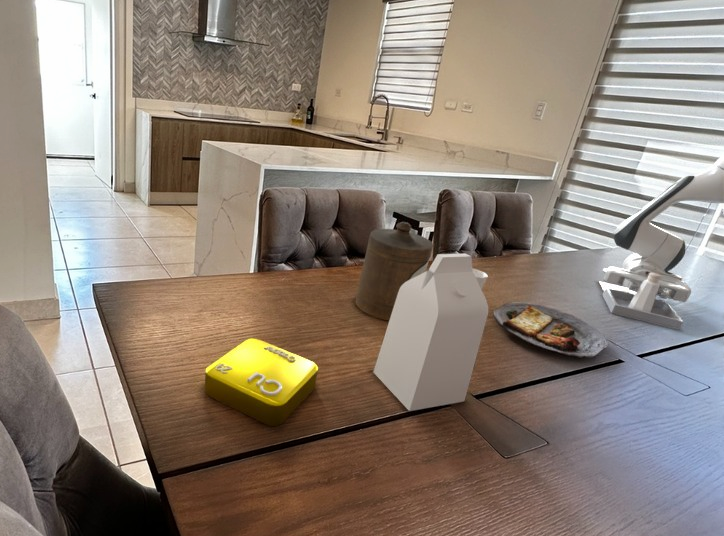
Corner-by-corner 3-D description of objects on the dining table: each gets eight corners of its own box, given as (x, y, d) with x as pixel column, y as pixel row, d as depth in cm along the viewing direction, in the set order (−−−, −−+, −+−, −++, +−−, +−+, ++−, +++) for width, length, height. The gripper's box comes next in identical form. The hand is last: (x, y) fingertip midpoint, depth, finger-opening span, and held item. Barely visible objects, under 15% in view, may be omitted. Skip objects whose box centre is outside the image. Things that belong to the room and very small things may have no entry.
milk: (424, 365, 94) (459, 242, 84) (464, 401, 84) (509, 267, 74) (373, 372, 90) (403, 243, 79) (409, 411, 80) (449, 270, 70)
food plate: (578, 374, 98) (584, 360, 96) (475, 325, 114) (479, 312, 112) (616, 343, 113) (622, 330, 112) (521, 304, 129) (525, 292, 127)
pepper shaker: (641, 314, 130) (658, 278, 126) (623, 305, 135) (639, 270, 131) (655, 313, 132) (672, 278, 128) (636, 304, 137) (653, 270, 132)
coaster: (634, 290, 150) (634, 289, 150) (642, 301, 141) (642, 300, 141) (598, 282, 153) (599, 281, 153) (603, 292, 145) (604, 291, 145)
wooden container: (418, 326, 109) (442, 236, 101) (355, 315, 111) (373, 226, 102) (411, 300, 123) (432, 219, 114) (355, 290, 124) (371, 209, 116)
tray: (663, 309, 137) (667, 301, 136) (678, 330, 125) (683, 321, 124) (602, 295, 143) (605, 287, 142) (611, 313, 130) (615, 304, 129)
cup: (450, 300, 126) (458, 272, 123) (456, 288, 134) (464, 262, 131) (477, 308, 123) (486, 280, 120) (482, 295, 131) (490, 269, 128)
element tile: (318, 385, 84) (322, 362, 82) (276, 431, 72) (279, 405, 70) (248, 354, 90) (251, 333, 88) (199, 392, 78) (200, 368, 76)
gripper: (606, 258, 145) (609, 270, 134) (688, 278, 136) (698, 292, 125) (598, 277, 148) (600, 290, 136) (678, 297, 139) (687, 313, 127)
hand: (648, 291), depth 131 cm, fingers open, 6 cm apart
